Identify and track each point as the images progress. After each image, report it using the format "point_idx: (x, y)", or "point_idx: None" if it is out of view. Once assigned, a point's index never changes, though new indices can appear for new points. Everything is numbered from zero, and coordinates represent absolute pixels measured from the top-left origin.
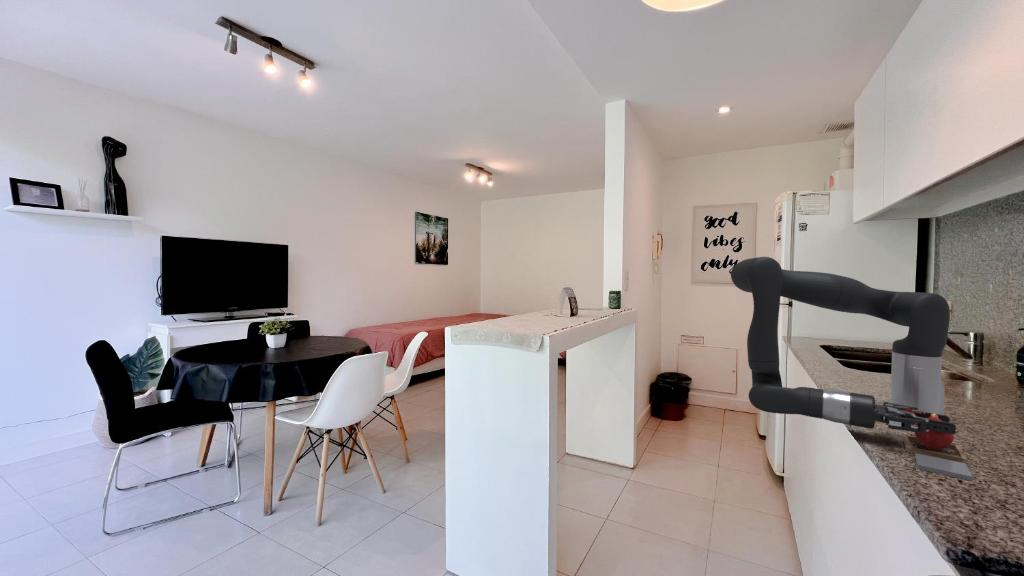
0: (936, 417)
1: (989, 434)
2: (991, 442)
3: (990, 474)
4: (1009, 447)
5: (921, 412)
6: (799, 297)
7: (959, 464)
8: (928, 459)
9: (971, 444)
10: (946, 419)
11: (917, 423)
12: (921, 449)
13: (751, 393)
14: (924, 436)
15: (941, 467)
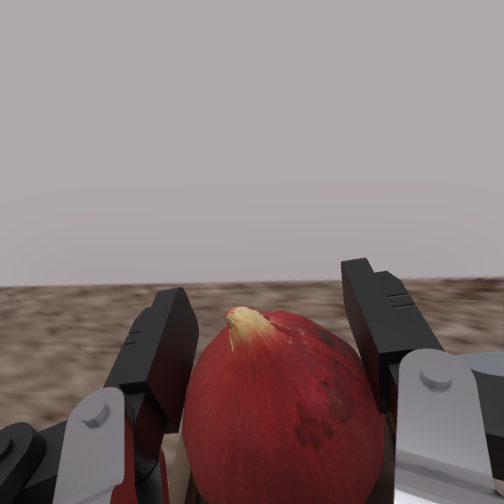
0: (270, 318)
1: (6, 317)
2: (78, 314)
3: (437, 314)
4: (110, 291)
5: (126, 409)
6: None
7: (500, 372)
8: None
9: (115, 348)
10: (185, 306)
11: (268, 487)
12: None
13: None
14: (377, 475)
15: None
